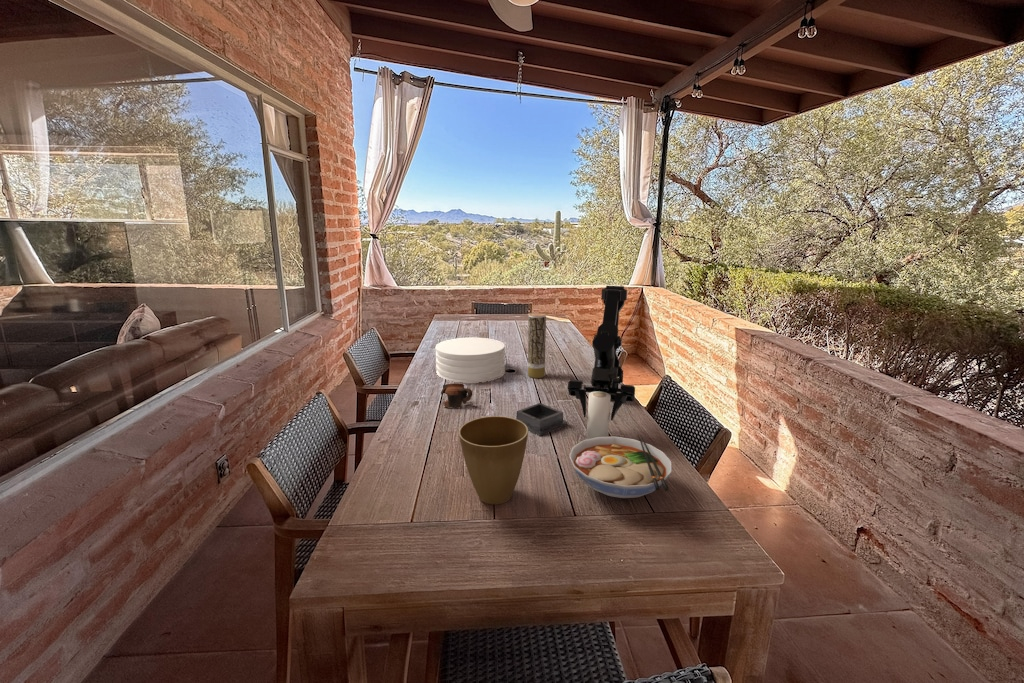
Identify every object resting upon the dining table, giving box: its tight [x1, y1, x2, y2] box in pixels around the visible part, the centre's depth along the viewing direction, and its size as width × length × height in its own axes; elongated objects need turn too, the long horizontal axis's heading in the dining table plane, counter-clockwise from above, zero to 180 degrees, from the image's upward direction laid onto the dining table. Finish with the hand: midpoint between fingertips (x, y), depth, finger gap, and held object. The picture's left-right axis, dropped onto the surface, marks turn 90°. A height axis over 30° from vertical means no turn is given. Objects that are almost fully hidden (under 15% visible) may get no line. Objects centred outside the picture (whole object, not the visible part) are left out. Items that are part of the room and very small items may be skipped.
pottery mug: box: [440, 382, 474, 409], centre depth 154 cm, size 12×10×8 cm
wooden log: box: [527, 312, 547, 379], centre depth 180 cm, size 7×7×25 cm
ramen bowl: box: [568, 434, 673, 499], centre depth 104 cm, size 25×23×8 cm
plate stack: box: [434, 336, 506, 384], centre depth 187 cm, size 28×28×12 cm
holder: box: [516, 402, 569, 437], centre depth 138 cm, size 12×12×4 cm
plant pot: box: [458, 415, 529, 505], centre depth 100 cm, size 15×15×16 cm
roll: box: [586, 391, 611, 440], centre depth 128 cm, size 6×6×13 cm
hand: (598, 418), depth 127 cm, fingers open, 7 cm apart
